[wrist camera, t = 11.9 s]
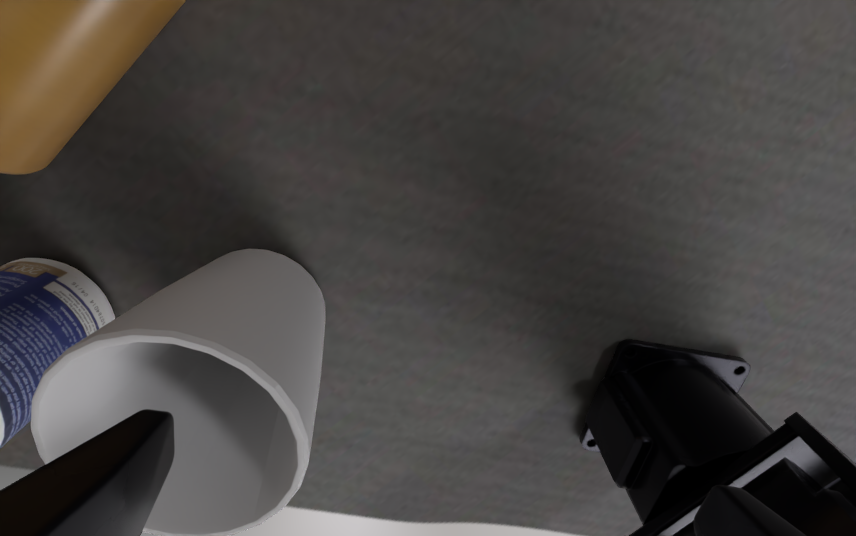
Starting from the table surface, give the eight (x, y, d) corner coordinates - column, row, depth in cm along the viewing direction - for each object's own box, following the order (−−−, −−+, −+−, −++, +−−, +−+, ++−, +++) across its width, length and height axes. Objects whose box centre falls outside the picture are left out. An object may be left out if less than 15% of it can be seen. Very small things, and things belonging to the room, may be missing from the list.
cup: (360, 244, 20) (323, 360, 12) (329, 425, 24) (286, 601, 16) (175, 208, 19) (8, 307, 11) (174, 401, 23) (49, 575, 15)
